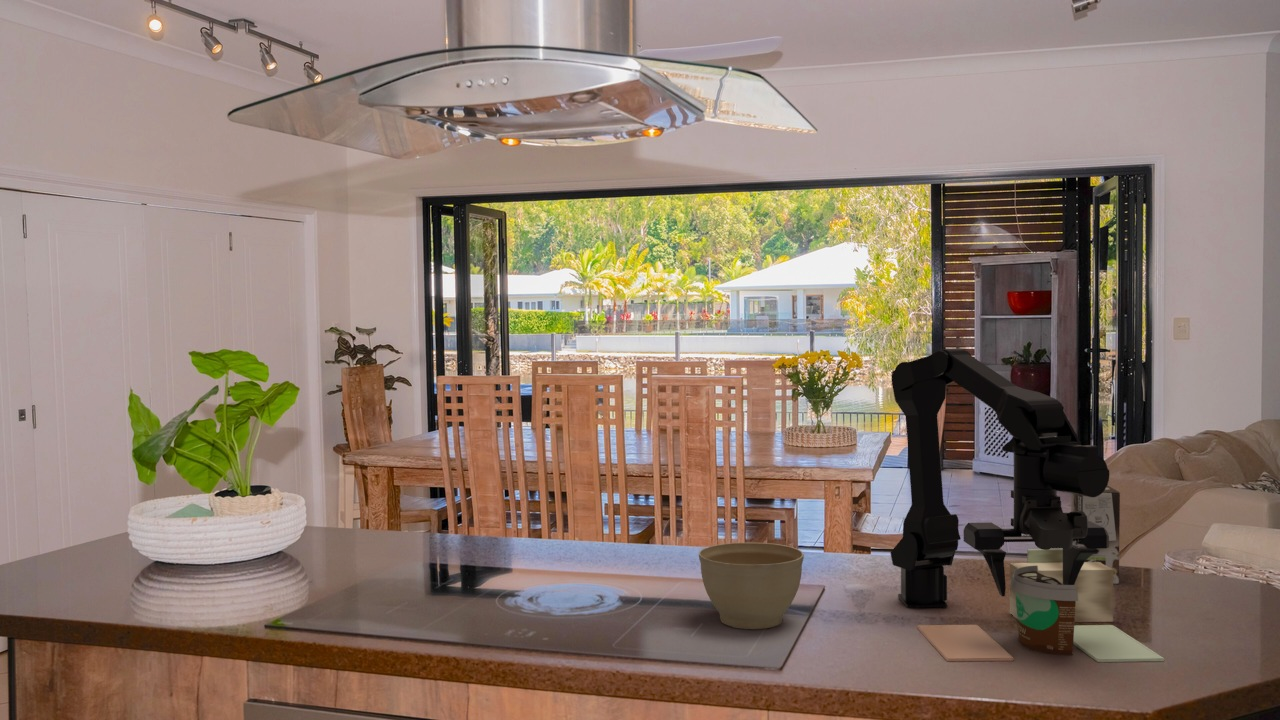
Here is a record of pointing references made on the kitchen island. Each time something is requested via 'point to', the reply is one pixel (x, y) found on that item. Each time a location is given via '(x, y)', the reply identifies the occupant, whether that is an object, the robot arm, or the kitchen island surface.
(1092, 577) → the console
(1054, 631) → the food container
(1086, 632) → the sage bay
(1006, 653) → the plate
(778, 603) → the planter bowl
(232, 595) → the kitchen island surface
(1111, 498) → the coffee box
